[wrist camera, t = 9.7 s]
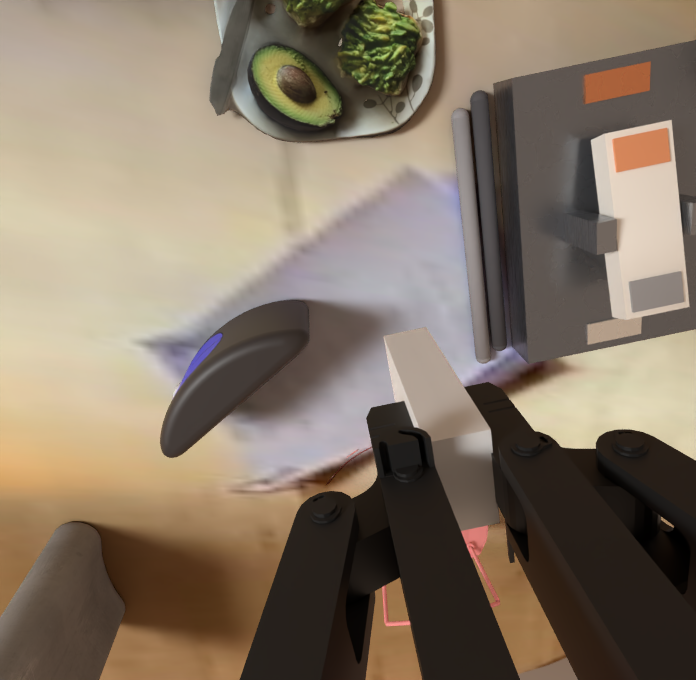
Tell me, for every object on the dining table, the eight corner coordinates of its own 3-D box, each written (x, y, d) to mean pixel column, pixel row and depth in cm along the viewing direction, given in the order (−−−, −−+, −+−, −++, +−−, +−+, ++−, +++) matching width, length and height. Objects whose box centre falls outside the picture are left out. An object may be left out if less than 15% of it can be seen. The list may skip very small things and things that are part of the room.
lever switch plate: (493, 83, 42) (541, 69, 33) (684, 43, 42) (782, 20, 33) (512, 347, 51) (554, 389, 42) (668, 314, 51) (742, 350, 42)
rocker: (590, 140, 39) (606, 133, 37) (654, 126, 39) (673, 119, 37) (612, 317, 41) (627, 320, 39) (672, 304, 41) (691, 307, 39)
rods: (447, 97, 42) (451, 95, 40) (710, 42, 42) (723, 39, 40) (474, 361, 51) (479, 367, 50) (690, 316, 51) (700, 321, 50)
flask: (40, 524, 54) (-98, 725, 36) (95, 517, 54) (-14, 713, 36) (81, 623, 60) (-19, 841, 41) (130, 616, 60) (53, 830, 42)
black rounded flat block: (278, 272, 46) (272, 304, 37) (313, 307, 48) (314, 346, 39) (157, 382, 49) (126, 435, 40) (193, 412, 51) (170, 469, 42)
